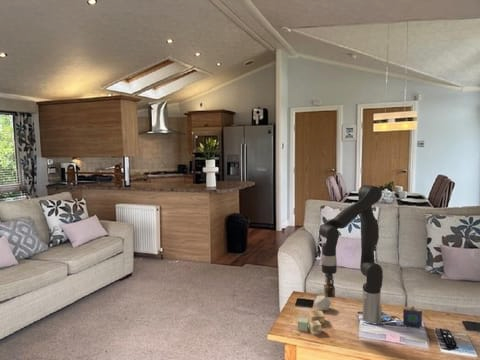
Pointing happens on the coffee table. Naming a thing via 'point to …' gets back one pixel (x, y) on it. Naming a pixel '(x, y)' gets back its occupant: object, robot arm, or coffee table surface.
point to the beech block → (315, 327)
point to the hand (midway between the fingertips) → (329, 294)
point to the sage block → (303, 324)
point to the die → (322, 303)
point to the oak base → (317, 316)
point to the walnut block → (327, 291)
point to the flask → (412, 317)
